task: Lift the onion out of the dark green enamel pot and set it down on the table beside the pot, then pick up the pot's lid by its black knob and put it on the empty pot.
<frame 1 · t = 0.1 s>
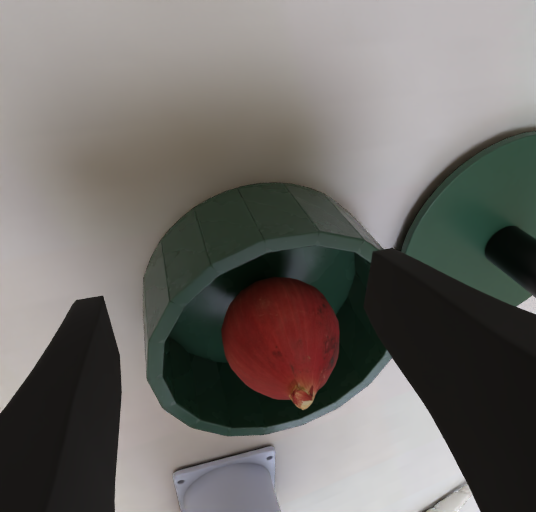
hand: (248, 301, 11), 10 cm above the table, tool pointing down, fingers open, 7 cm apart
pot: (259, 286, 24), on the table
lid: (496, 239, 27), point 1 cm above the table
onion: (260, 288, 24), resting on pot
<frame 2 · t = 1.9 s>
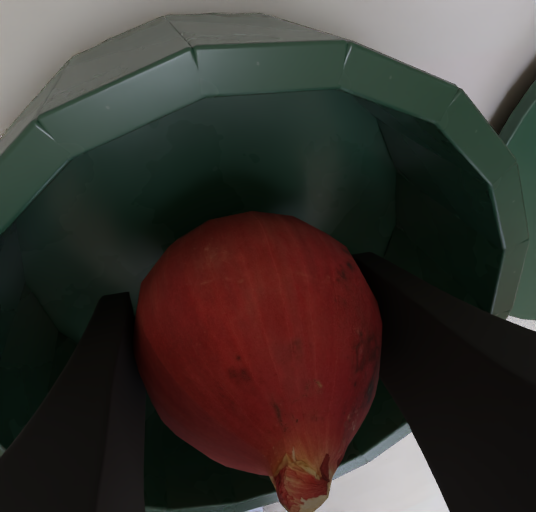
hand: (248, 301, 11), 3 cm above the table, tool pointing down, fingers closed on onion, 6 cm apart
pot: (227, 245, 14), on the table
onion: (227, 247, 13), resting on pot, touching gripper
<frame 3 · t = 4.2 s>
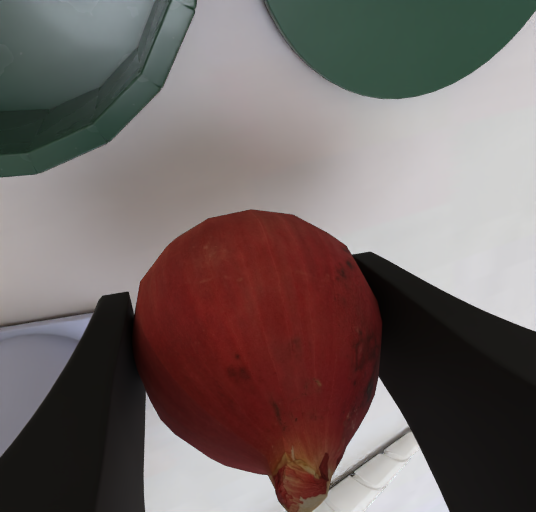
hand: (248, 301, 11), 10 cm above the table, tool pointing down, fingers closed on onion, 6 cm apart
onion: (226, 246, 13), point 7 cm above the table, touching gripper
unicorn horn: (334, 484, 40), on the table
when the fingers open (3 cm above the table, at t = 6.9 s): onion stays where it is, on the table.
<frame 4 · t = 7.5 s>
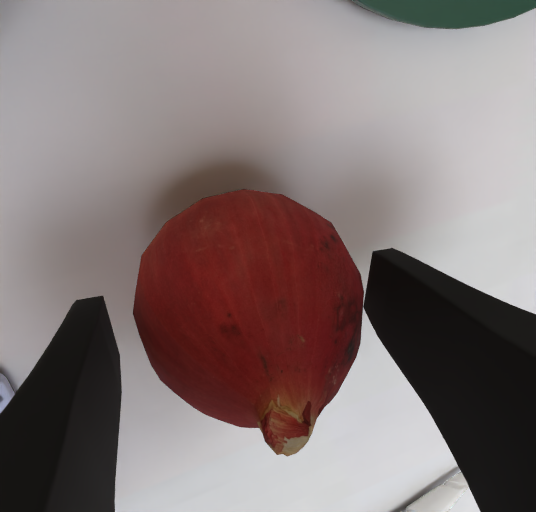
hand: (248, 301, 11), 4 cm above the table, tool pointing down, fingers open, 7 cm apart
onion: (222, 228, 14), on the table
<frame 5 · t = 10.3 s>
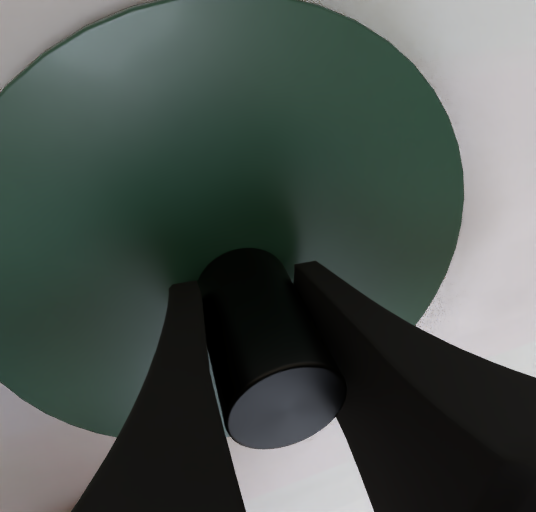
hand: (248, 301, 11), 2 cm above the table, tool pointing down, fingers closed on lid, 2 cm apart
lid: (237, 275, 12), point 1 cm above the table, touching gripper
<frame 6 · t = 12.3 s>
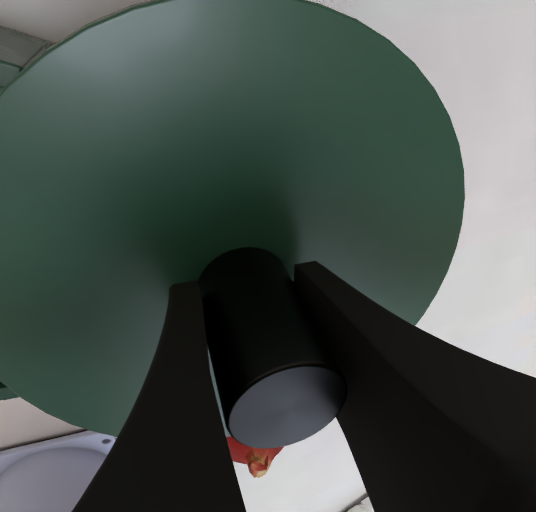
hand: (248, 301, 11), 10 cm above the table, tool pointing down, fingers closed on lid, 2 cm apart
pot: (4, 196, 18), on the table
lid: (238, 275, 12), point 9 cm above the table, touching gripper
onion: (230, 349, 26), on the table
when the fingers open (6 cm above the table, at t = 14.5 s): lid stays where it is, resting on pot.
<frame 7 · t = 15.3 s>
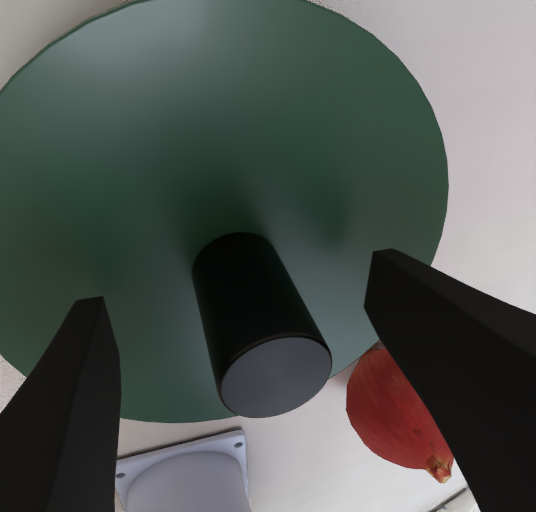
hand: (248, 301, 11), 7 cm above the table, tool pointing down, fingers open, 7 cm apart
lid: (232, 259, 13), point 5 cm above the table, touching pot
onion: (367, 351, 26), on the table
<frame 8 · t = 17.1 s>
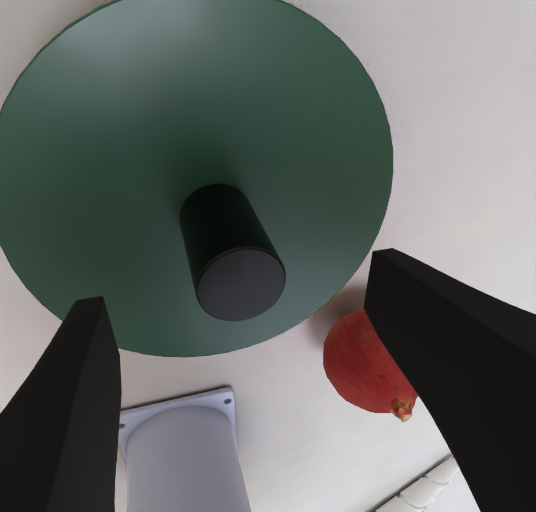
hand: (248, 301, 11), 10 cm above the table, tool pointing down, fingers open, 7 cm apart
lid: (213, 210, 15), point 5 cm above the table, touching pot
onion: (344, 315, 28), on the table
unicorn horn: (382, 502, 47), on the table
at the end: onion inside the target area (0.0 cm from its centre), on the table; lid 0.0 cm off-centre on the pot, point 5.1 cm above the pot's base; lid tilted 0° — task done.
